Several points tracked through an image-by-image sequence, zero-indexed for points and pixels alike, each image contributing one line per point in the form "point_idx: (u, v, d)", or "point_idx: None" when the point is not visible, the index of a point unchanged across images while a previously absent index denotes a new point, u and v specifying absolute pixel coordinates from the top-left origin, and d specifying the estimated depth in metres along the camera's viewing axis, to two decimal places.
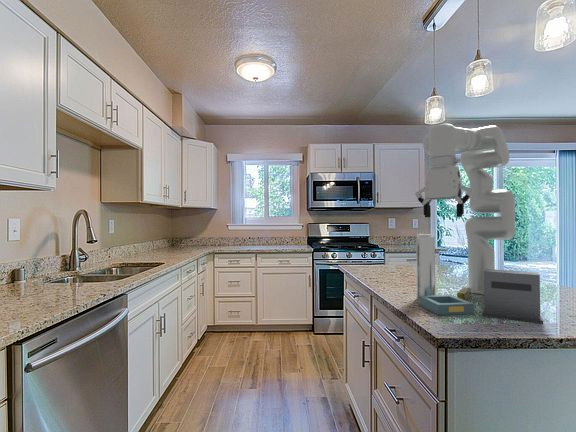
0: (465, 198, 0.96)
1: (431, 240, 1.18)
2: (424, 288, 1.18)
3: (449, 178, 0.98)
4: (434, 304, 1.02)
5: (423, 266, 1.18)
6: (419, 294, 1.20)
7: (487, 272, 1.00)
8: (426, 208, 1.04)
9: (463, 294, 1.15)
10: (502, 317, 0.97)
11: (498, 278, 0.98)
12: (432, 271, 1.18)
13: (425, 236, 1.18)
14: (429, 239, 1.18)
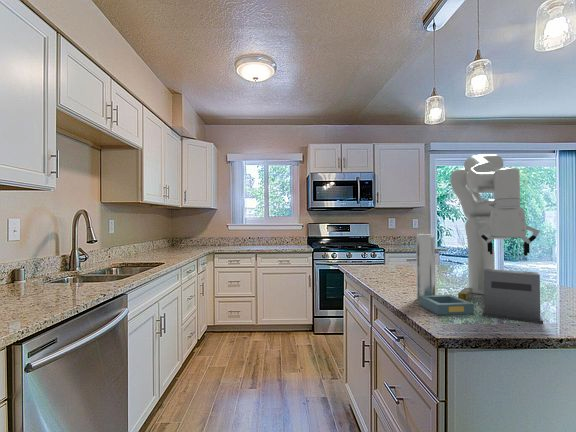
0: None
1: (431, 240, 1.18)
2: (424, 288, 1.18)
3: None
4: (434, 304, 1.02)
5: (423, 266, 1.18)
6: (419, 294, 1.20)
7: (487, 272, 1.00)
8: None
9: (464, 294, 1.14)
10: (502, 317, 0.97)
11: (498, 278, 0.98)
12: (432, 271, 1.18)
13: (425, 236, 1.18)
14: (429, 239, 1.18)
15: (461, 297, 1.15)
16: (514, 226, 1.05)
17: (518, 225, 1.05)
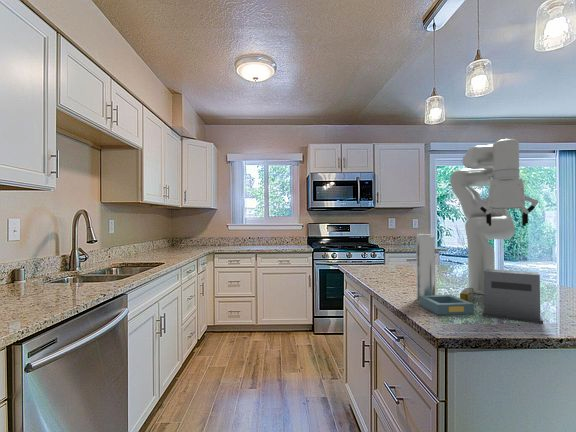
0: None
1: (431, 240, 1.18)
2: (424, 288, 1.18)
3: None
4: (434, 304, 1.02)
5: (423, 266, 1.18)
6: (419, 294, 1.20)
7: (487, 272, 1.00)
8: None
9: (466, 294, 1.14)
10: (502, 317, 0.97)
11: (498, 278, 0.98)
12: (432, 271, 1.18)
13: (425, 236, 1.18)
14: (429, 239, 1.18)
15: (463, 297, 1.15)
16: (513, 197, 1.06)
17: (517, 195, 1.05)
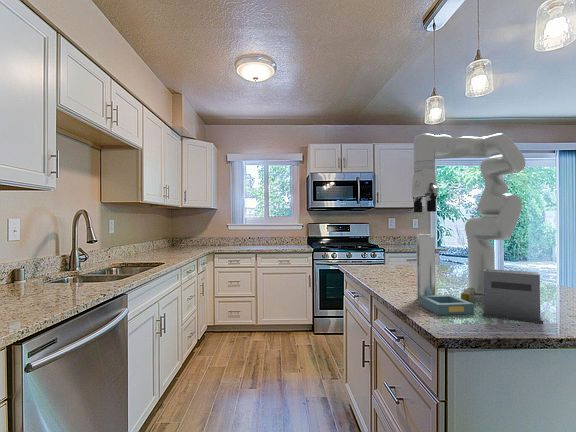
0: None
1: (431, 240, 1.18)
2: (424, 288, 1.18)
3: None
4: (434, 304, 1.02)
5: (423, 266, 1.18)
6: (419, 294, 1.20)
7: (487, 272, 1.00)
8: None
9: (467, 295, 1.14)
10: (502, 317, 0.97)
11: (498, 278, 0.98)
12: (432, 271, 1.18)
13: (425, 236, 1.18)
14: (429, 239, 1.18)
15: (464, 297, 1.14)
16: (419, 186, 1.19)
17: (421, 184, 1.18)
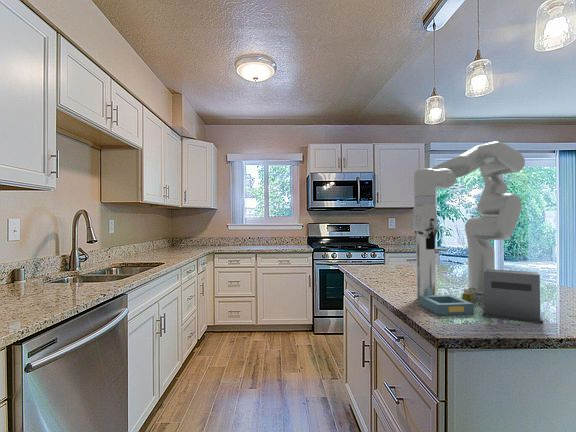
0: None
1: None
2: (424, 288, 1.18)
3: None
4: (434, 304, 1.02)
5: (423, 266, 1.18)
6: (419, 294, 1.20)
7: (487, 272, 1.00)
8: None
9: (469, 295, 1.14)
10: (502, 317, 0.97)
11: (498, 278, 0.98)
12: (432, 271, 1.18)
13: (425, 236, 1.18)
14: None
15: (465, 298, 1.14)
16: (420, 220, 1.19)
17: (422, 220, 1.18)
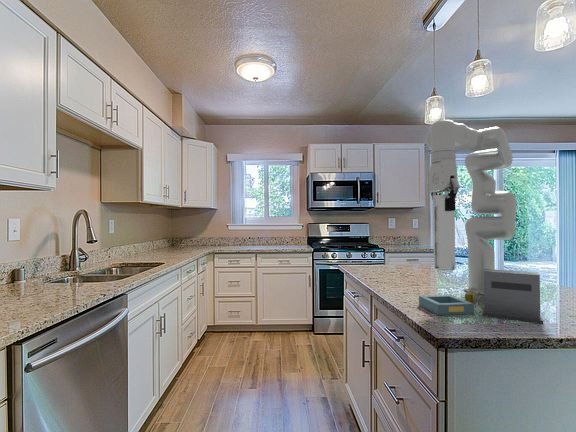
0: None
1: None
2: (443, 255, 1.04)
3: None
4: (434, 304, 1.02)
5: (441, 230, 1.04)
6: (437, 262, 1.06)
7: (487, 272, 1.00)
8: None
9: (471, 295, 1.13)
10: (502, 317, 0.97)
11: (498, 278, 0.98)
12: (452, 236, 1.04)
13: (444, 196, 1.04)
14: None
15: (468, 298, 1.14)
16: (438, 179, 1.05)
17: (440, 177, 1.04)
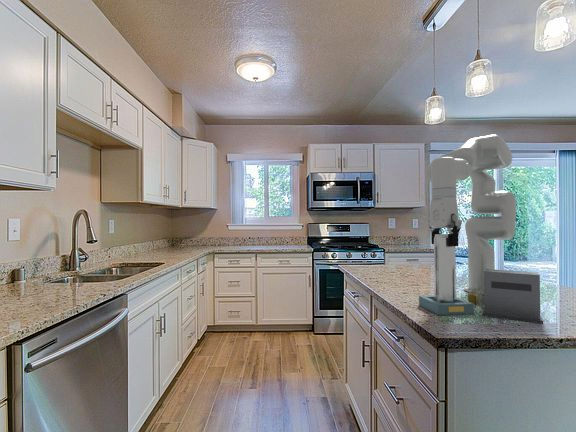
0: None
1: None
2: (443, 295, 1.04)
3: None
4: (434, 304, 1.02)
5: (442, 271, 1.04)
6: None
7: (487, 272, 1.00)
8: None
9: (474, 295, 1.12)
10: (502, 317, 0.97)
11: (498, 278, 0.98)
12: (453, 276, 1.04)
13: (445, 237, 1.04)
14: None
15: (471, 298, 1.13)
16: (439, 216, 1.05)
17: (441, 215, 1.04)
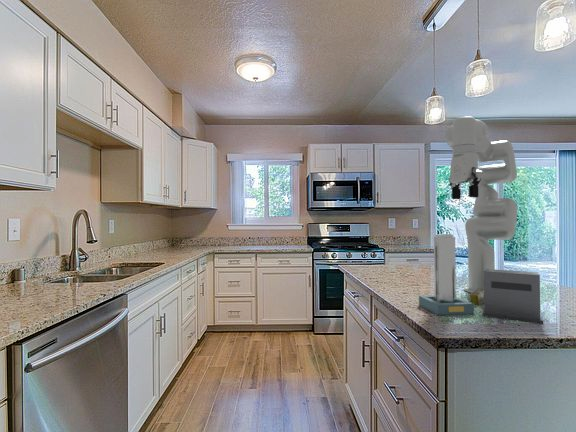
0: None
1: (451, 241, 1.04)
2: (443, 295, 1.04)
3: None
4: (434, 304, 1.02)
5: (442, 271, 1.04)
6: None
7: (487, 272, 1.00)
8: None
9: (476, 296, 1.12)
10: (502, 317, 0.97)
11: (498, 278, 0.98)
12: (453, 276, 1.04)
13: (445, 237, 1.04)
14: (449, 240, 1.04)
15: (473, 299, 1.13)
16: (460, 171, 1.14)
17: (462, 169, 1.13)
